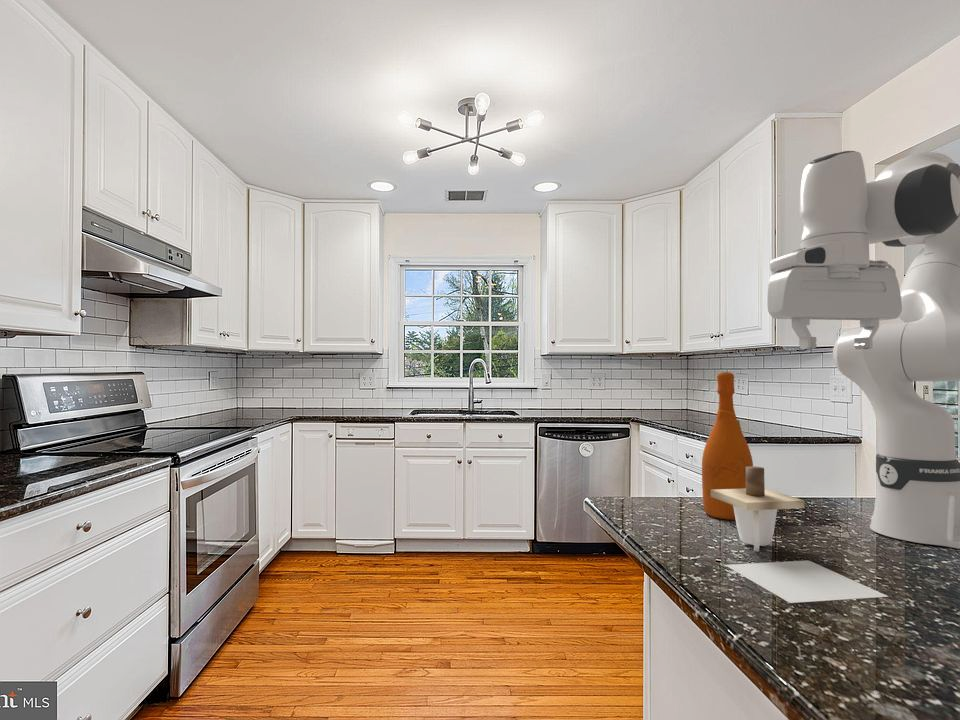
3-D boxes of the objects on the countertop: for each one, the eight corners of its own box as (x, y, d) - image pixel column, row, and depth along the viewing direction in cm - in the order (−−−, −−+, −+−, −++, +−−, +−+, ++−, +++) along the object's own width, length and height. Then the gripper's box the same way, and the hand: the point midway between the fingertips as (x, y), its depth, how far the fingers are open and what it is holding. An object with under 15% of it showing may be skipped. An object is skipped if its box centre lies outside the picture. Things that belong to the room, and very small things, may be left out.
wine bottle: (763, 521, 108) (760, 371, 109) (714, 521, 108) (711, 371, 109) (740, 509, 118) (738, 372, 119) (695, 509, 118) (693, 372, 119)
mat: (808, 563, 84) (808, 560, 84) (888, 600, 70) (888, 596, 70) (724, 568, 82) (724, 564, 82) (790, 606, 68) (789, 602, 68)
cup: (777, 545, 93) (776, 497, 94) (782, 563, 84) (781, 510, 85) (732, 540, 96) (731, 494, 97) (732, 556, 87) (731, 506, 87)
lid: (763, 494, 96) (762, 462, 96) (804, 508, 86) (803, 472, 86) (710, 496, 95) (710, 463, 95) (746, 510, 85) (746, 473, 85)
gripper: (876, 265, 87) (878, 350, 87) (760, 261, 85) (761, 349, 84) (912, 256, 81) (915, 348, 81) (788, 252, 78) (790, 347, 78)
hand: (835, 349), depth 82 cm, fingers open, 8 cm apart
